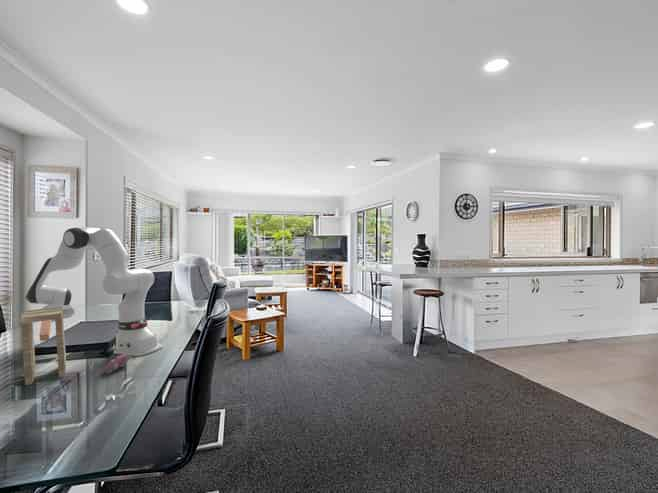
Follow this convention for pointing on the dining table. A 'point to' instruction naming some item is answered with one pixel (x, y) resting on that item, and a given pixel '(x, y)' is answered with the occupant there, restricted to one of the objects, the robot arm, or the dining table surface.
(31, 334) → the wooden stand
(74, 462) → the dining table surface
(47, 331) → the terracotta bar
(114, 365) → the video game controller
